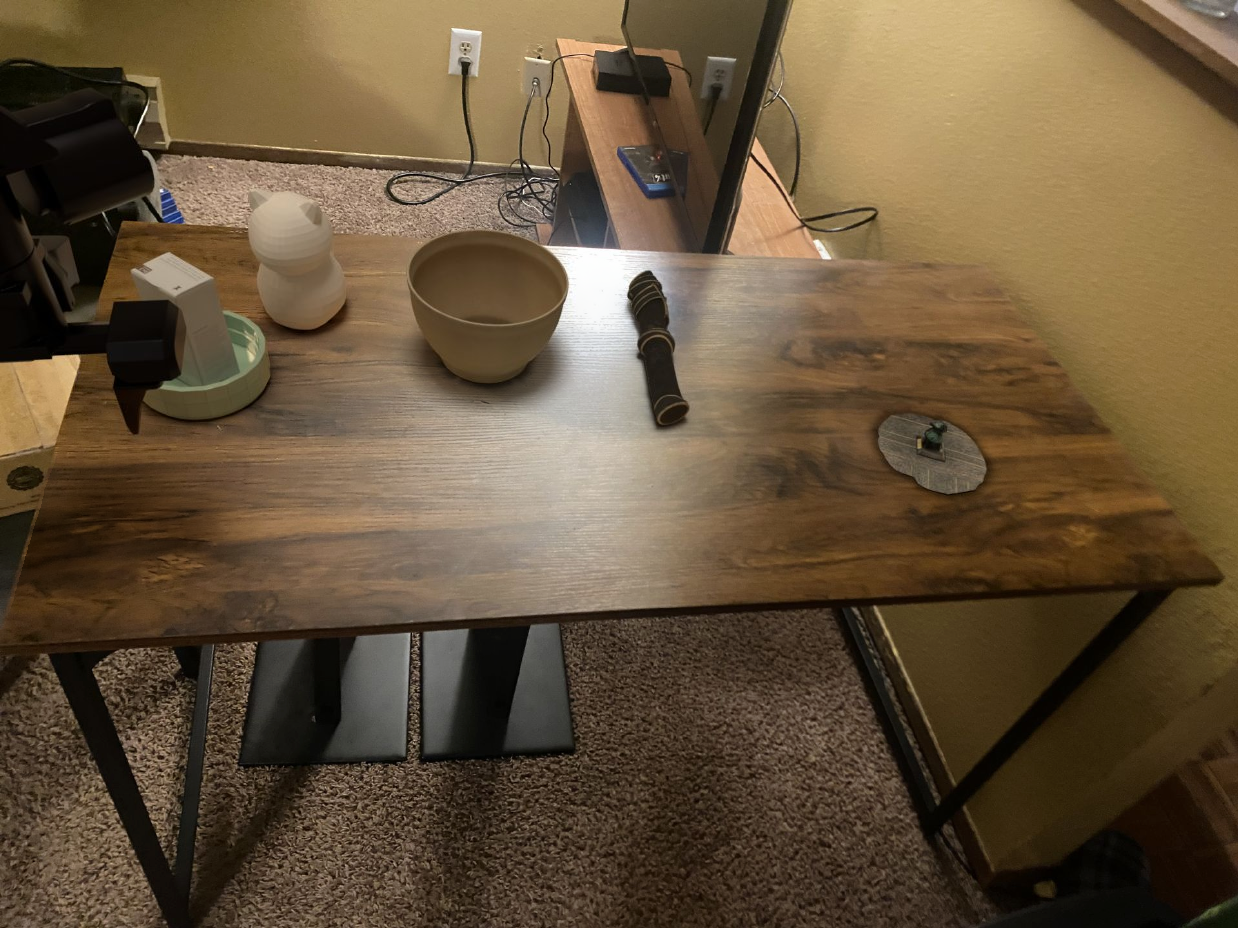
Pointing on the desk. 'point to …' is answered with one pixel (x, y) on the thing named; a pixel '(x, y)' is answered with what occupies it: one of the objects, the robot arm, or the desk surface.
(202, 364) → the cosmetic box
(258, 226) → the cat figurine
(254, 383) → the shallow bowl
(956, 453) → the sculpture
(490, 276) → the planter bowl
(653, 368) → the banded dark tube
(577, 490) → the desk surface
